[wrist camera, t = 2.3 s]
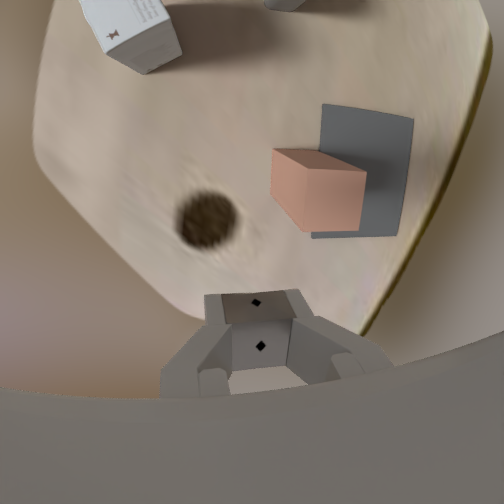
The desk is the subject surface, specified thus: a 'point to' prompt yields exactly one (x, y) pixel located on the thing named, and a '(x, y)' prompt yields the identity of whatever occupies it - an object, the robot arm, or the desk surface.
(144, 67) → the skincare box
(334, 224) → the block
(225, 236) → the desk surface
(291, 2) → the power adapter
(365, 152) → the mat
